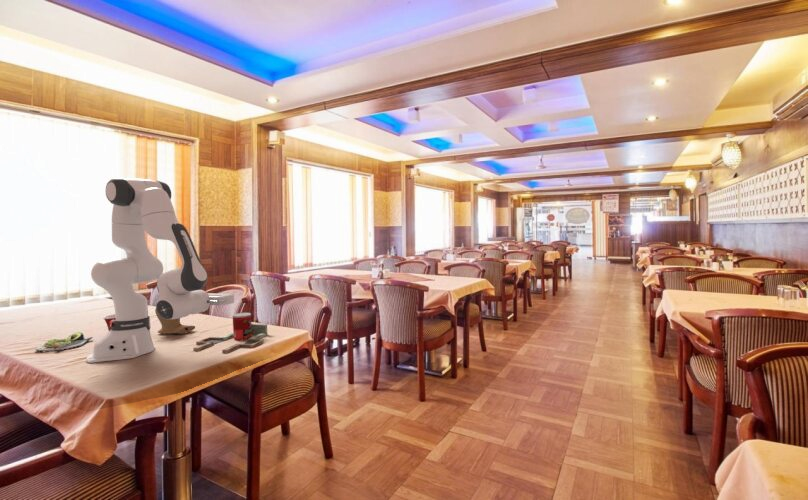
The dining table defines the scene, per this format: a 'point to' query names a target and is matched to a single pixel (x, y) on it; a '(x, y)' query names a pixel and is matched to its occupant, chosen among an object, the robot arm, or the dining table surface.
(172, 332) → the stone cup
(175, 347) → the dining table surface
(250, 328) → the canned food
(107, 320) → the plastic cup
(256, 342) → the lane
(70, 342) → the salad plate
